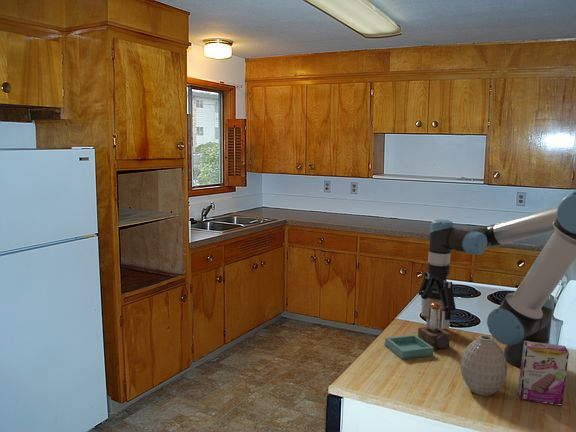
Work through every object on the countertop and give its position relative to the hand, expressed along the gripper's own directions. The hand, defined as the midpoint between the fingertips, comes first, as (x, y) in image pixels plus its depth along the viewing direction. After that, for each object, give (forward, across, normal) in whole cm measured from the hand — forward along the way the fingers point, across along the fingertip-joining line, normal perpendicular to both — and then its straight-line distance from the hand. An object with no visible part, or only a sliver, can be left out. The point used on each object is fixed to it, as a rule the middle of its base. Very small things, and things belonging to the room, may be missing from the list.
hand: (434, 321), depth 184 cm
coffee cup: (+9, +14, -10) cm, 19 cm away
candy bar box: (+9, -43, -7) cm, 44 cm away
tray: (+8, -3, +12) cm, 15 cm away
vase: (+9, -34, +6) cm, 36 cm away
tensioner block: (+8, 0, 0) cm, 8 cm away
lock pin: (+8, 0, 0) cm, 8 cm away
